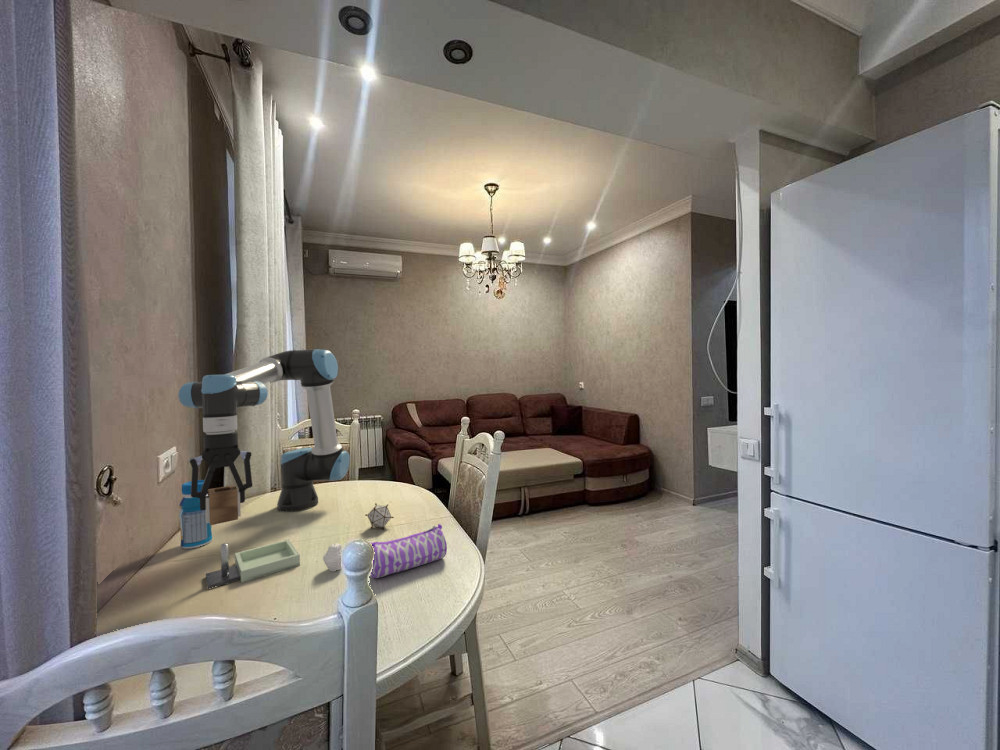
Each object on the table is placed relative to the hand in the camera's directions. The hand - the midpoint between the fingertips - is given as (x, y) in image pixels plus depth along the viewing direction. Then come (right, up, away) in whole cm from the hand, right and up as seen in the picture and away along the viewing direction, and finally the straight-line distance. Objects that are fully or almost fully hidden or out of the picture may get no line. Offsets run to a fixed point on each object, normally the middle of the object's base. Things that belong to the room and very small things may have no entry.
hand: (223, 518), depth 106 cm
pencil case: (+49, -15, +4) cm, 51 cm away
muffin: (+28, -16, +4) cm, 33 cm away
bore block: (0, 0, 0) cm, 0 cm away
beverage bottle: (-24, -17, +23) cm, 37 cm away
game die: (+32, -15, +33) cm, 48 cm away
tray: (+7, -16, +7) cm, 19 cm away
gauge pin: (0, -16, 0) cm, 16 cm away
